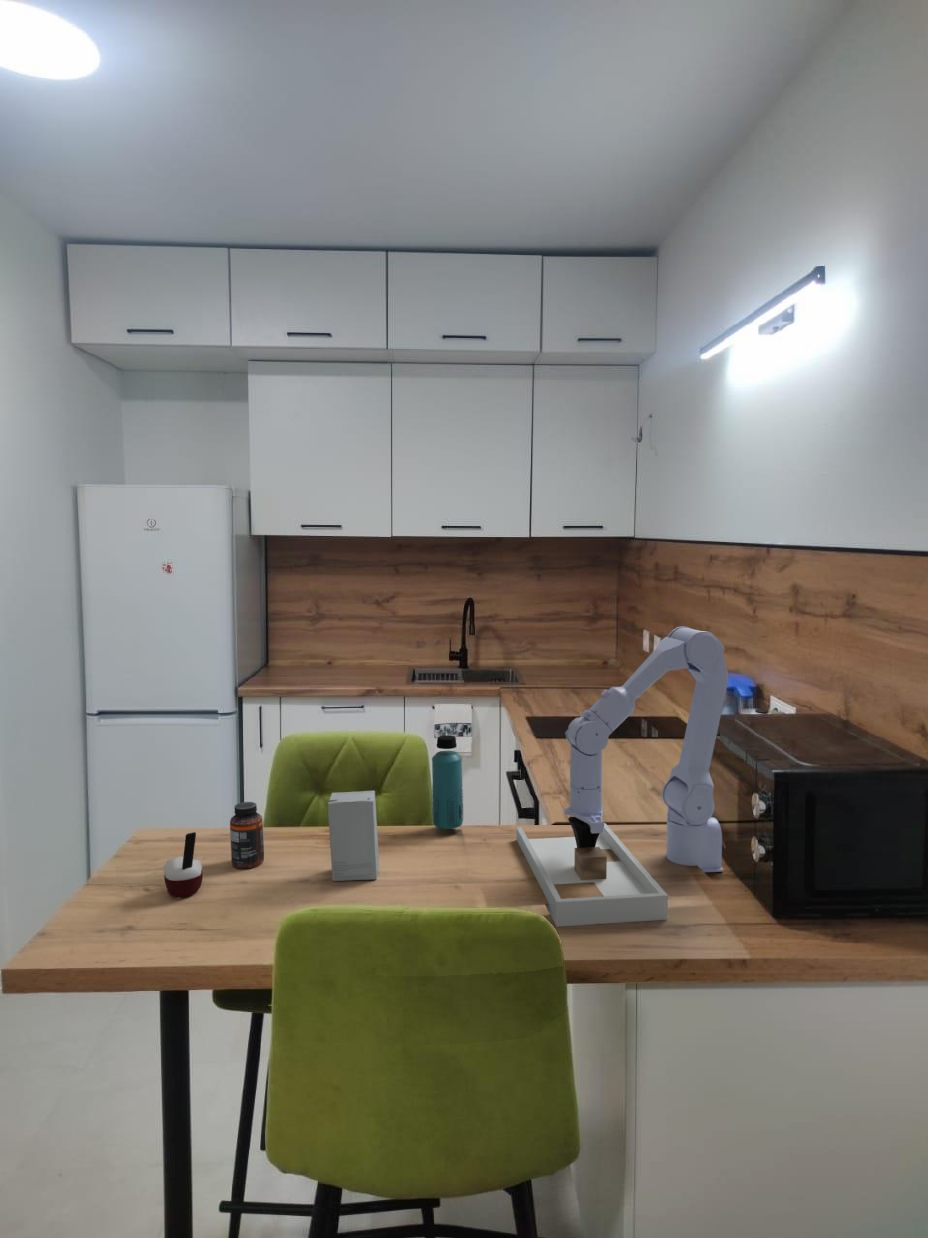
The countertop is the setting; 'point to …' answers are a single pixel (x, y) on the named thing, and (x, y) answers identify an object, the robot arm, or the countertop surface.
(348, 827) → the skincare box
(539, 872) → the tray
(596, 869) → the walnut block
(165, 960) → the countertop surface
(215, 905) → the countertop surface
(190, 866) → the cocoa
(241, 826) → the supplement bottle
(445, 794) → the beverage bottle
